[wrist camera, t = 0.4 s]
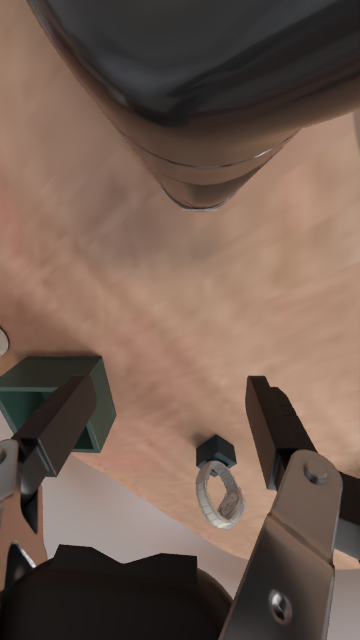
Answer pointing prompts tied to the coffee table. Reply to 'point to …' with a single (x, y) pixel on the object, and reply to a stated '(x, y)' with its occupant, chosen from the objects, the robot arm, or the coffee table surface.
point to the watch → (217, 461)
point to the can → (3, 342)
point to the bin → (46, 376)
